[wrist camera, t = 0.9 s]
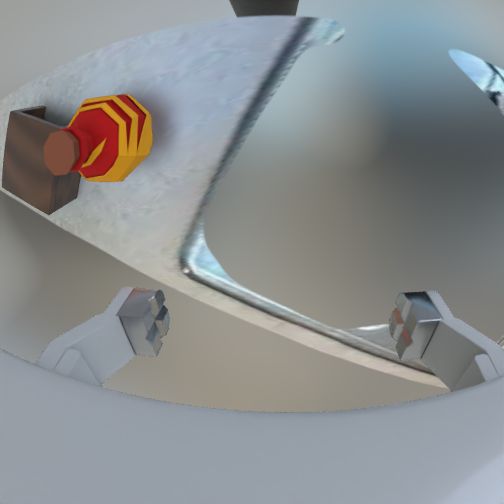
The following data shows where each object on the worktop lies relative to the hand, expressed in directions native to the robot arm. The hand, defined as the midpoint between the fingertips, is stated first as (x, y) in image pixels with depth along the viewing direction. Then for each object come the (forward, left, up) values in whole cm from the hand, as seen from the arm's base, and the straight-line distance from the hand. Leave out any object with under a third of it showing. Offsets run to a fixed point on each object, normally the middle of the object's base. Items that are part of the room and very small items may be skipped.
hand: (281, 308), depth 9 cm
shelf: (+11, -31, -26) cm, 42 cm away
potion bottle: (+4, -18, -26) cm, 32 cm away
